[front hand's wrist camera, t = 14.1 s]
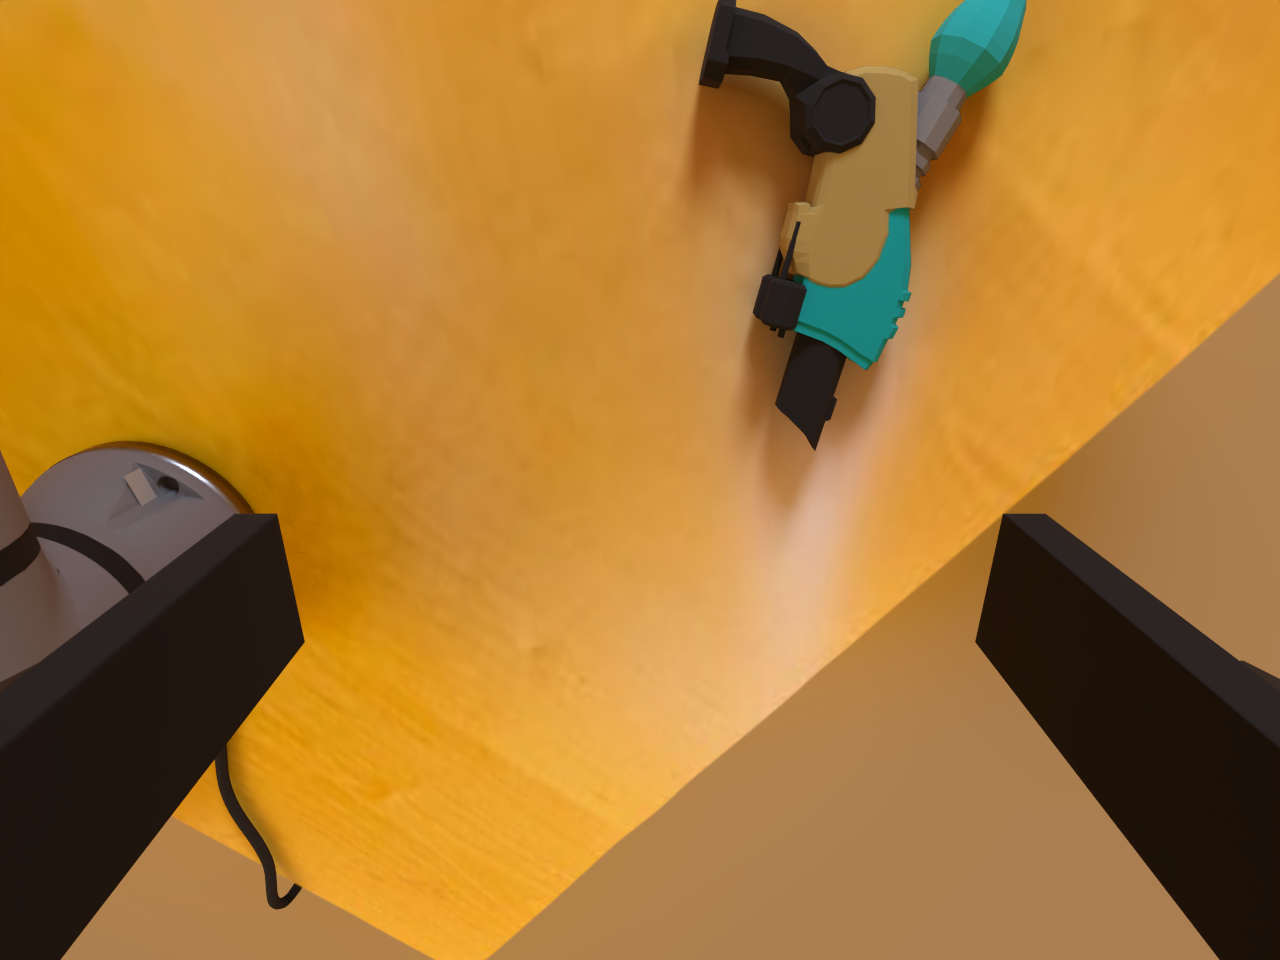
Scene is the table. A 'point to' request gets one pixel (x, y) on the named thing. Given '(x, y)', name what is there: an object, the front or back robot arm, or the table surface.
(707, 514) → the table surface
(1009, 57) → the toy gun
